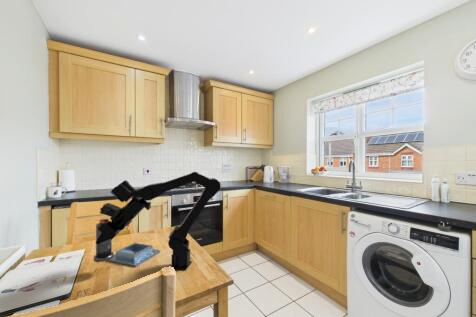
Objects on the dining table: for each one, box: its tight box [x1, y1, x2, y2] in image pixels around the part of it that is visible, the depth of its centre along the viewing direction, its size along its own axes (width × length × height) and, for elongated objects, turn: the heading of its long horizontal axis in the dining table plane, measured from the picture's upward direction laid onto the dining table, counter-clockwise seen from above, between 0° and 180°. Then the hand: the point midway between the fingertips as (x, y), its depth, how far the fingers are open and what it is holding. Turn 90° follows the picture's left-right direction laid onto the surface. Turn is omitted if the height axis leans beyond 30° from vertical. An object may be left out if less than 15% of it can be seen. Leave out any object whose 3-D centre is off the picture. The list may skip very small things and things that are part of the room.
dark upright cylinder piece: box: [93, 218, 115, 263], centre depth 79 cm, size 6×6×14 cm
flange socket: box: [107, 242, 161, 268], centre depth 92 cm, size 16×14×4 cm
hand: (99, 240), depth 79 cm, fingers closed on dark upright cylinder piece, 5 cm apart
